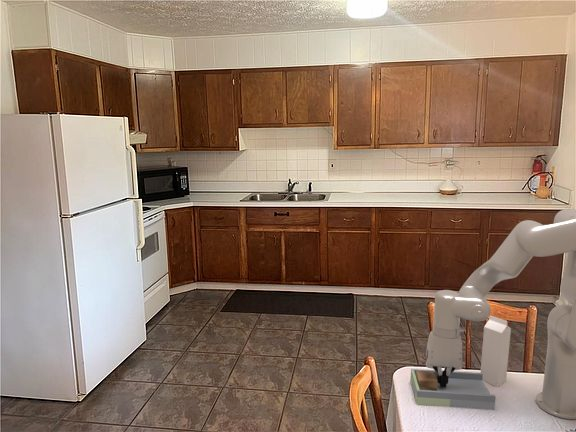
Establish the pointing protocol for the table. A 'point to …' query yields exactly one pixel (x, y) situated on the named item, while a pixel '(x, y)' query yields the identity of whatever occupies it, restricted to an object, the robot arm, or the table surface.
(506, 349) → the milk
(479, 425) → the table surface
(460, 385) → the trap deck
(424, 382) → the block
